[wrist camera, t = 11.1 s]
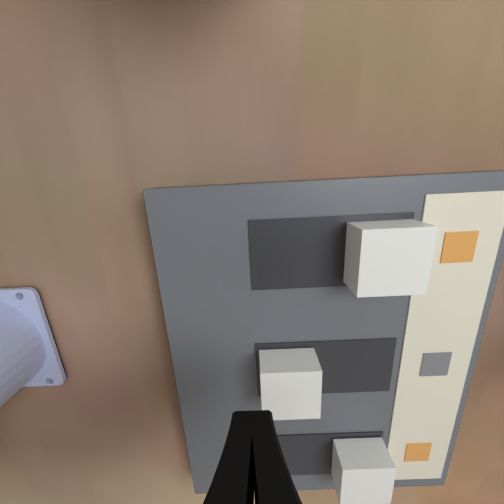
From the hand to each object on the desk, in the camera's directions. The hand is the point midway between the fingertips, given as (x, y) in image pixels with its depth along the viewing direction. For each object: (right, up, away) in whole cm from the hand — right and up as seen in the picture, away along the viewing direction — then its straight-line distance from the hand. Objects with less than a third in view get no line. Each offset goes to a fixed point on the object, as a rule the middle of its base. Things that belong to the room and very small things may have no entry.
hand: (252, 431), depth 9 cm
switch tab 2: (+7, +7, +5) cm, 11 cm away
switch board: (+5, -1, +9) cm, 11 cm away
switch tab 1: (+2, -1, +7) cm, 8 cm away
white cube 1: (+8, -9, +10) cm, 15 cm away
